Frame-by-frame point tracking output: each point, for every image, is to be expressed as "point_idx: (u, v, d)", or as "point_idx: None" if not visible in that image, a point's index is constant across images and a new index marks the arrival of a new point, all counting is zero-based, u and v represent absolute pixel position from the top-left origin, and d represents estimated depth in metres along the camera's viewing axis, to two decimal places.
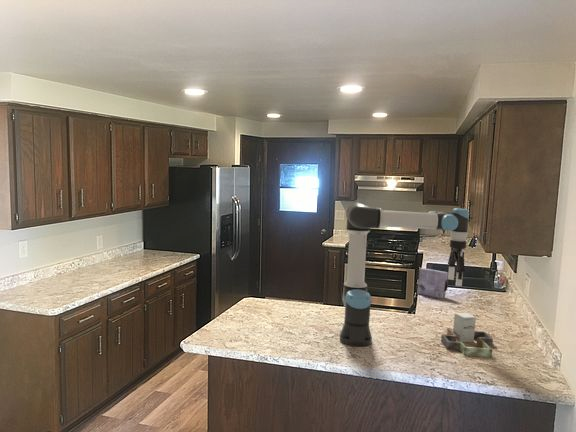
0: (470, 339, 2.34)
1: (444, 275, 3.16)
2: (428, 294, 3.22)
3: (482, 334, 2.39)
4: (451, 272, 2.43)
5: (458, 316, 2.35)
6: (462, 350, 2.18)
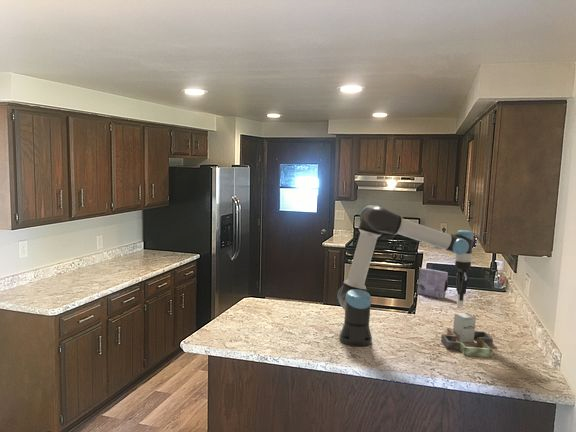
0: (470, 339, 2.34)
1: (444, 275, 3.16)
2: (428, 294, 3.22)
3: (482, 334, 2.39)
4: None
5: (458, 316, 2.35)
6: (462, 350, 2.18)
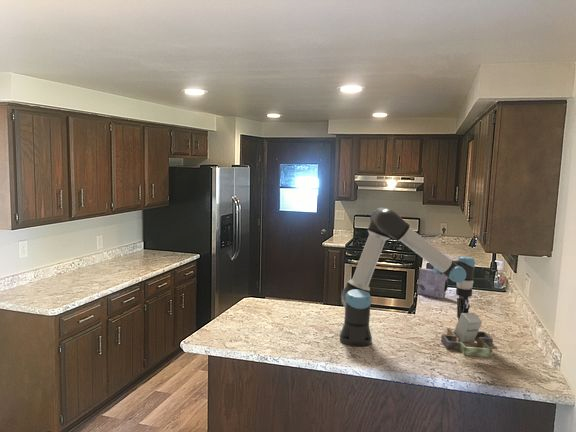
0: (471, 340, 2.34)
1: None
2: (428, 294, 3.22)
3: (482, 334, 2.39)
4: None
5: (464, 318, 2.31)
6: (462, 350, 2.18)
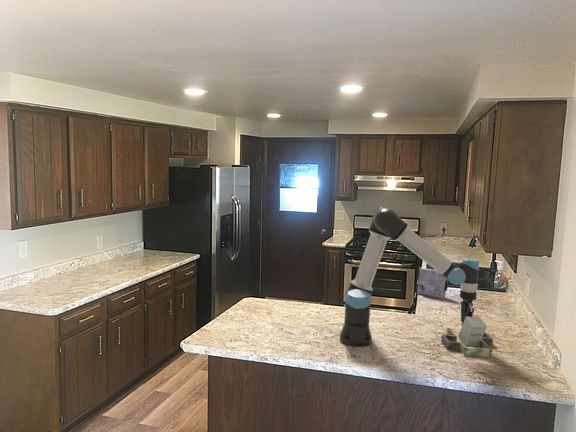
0: (476, 344, 2.27)
1: None
2: (428, 294, 3.22)
3: None
4: None
5: (468, 322, 2.25)
6: (462, 350, 2.18)
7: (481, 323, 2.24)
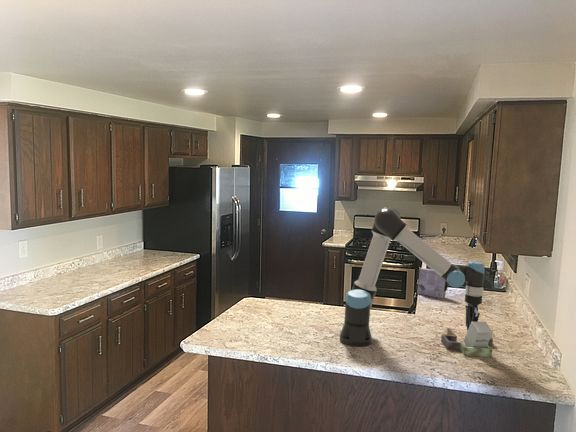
0: None
1: None
2: (428, 294, 3.22)
3: None
4: None
5: (473, 327, 2.17)
6: (462, 350, 2.18)
7: (487, 329, 2.16)
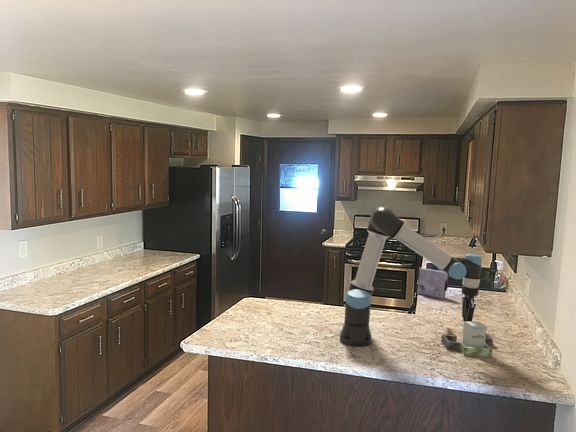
0: None
1: (444, 275, 3.16)
2: (428, 294, 3.22)
3: None
4: None
5: (467, 324, 2.23)
6: (462, 350, 2.18)
7: (480, 324, 2.21)
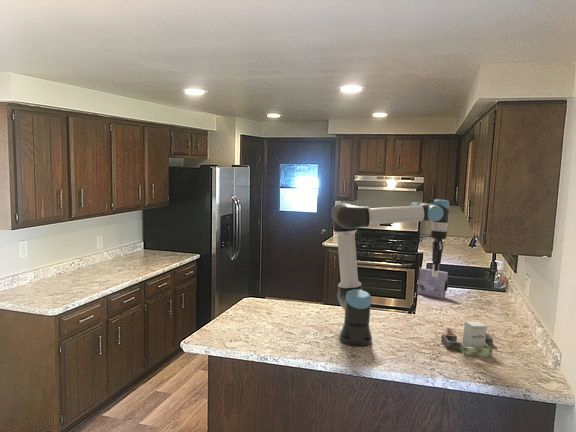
0: None
1: (444, 275, 3.16)
2: (428, 294, 3.22)
3: None
4: None
5: (467, 324, 2.23)
6: (462, 350, 2.18)
7: (480, 324, 2.21)
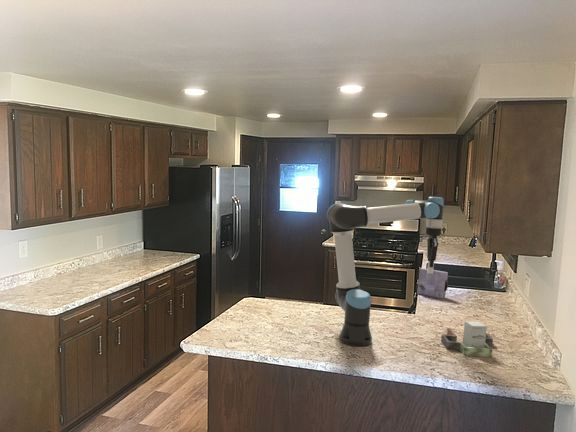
0: None
1: (444, 275, 3.16)
2: (428, 294, 3.22)
3: None
4: None
5: (467, 324, 2.23)
6: (462, 350, 2.18)
7: (480, 324, 2.21)
